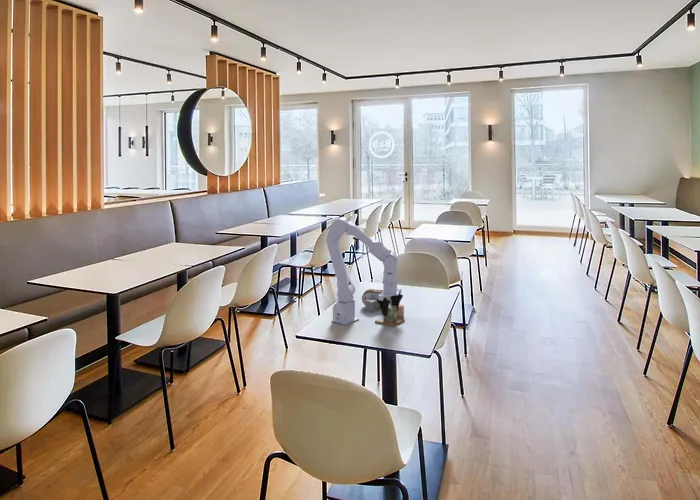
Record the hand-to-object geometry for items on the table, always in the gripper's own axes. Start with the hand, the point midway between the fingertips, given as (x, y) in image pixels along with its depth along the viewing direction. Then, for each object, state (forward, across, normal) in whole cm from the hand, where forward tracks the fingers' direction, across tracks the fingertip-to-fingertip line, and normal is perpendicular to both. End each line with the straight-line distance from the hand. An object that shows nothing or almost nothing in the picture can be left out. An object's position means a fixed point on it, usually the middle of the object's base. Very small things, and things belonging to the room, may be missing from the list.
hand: (389, 313), depth 202 cm
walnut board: (+4, 0, 0) cm, 4 cm away
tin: (+4, +14, +16) cm, 21 cm away
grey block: (+4, +8, +16) cm, 18 cm away
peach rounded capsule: (+4, +8, 0) cm, 9 cm away
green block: (+3, 0, 0) cm, 3 cm away
